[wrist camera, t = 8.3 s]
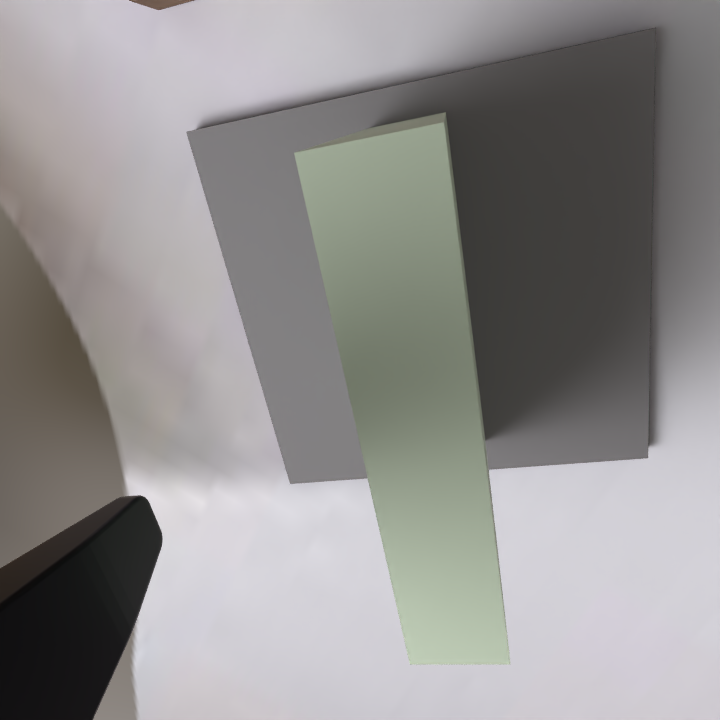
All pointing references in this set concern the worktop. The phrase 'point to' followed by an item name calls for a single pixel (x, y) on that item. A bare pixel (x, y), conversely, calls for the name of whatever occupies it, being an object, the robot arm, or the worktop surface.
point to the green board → (412, 377)
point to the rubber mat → (470, 253)
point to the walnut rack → (160, 3)
